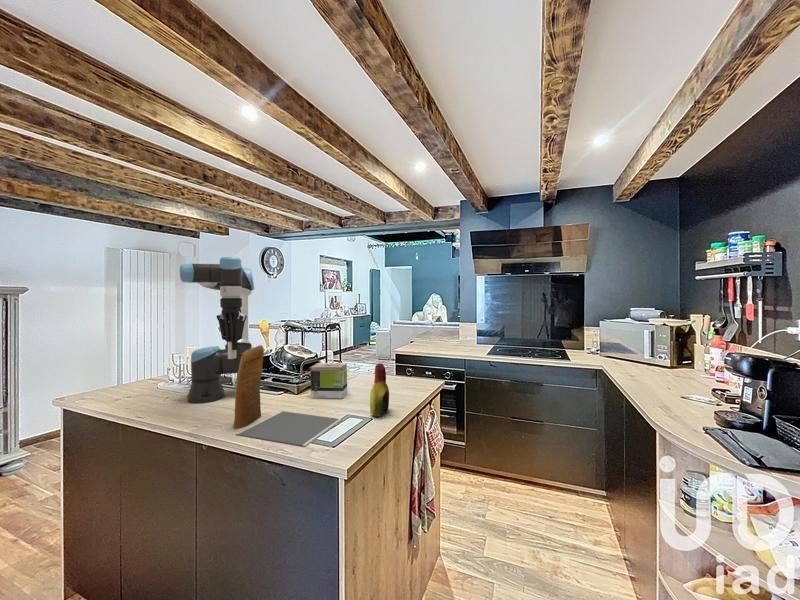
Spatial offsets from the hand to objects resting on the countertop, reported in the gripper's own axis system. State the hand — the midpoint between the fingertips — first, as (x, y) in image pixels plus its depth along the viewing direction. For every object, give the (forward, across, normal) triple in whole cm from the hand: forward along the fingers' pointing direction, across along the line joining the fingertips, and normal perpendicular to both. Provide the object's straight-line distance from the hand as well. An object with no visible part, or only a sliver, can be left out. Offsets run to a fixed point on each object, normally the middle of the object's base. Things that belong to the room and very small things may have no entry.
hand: (232, 358), depth 135 cm
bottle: (+24, +52, +25) cm, 62 cm away
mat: (+24, +27, 0) cm, 36 cm away
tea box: (+24, +20, +38) cm, 49 cm away
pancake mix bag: (+24, +8, 0) cm, 25 cm away
